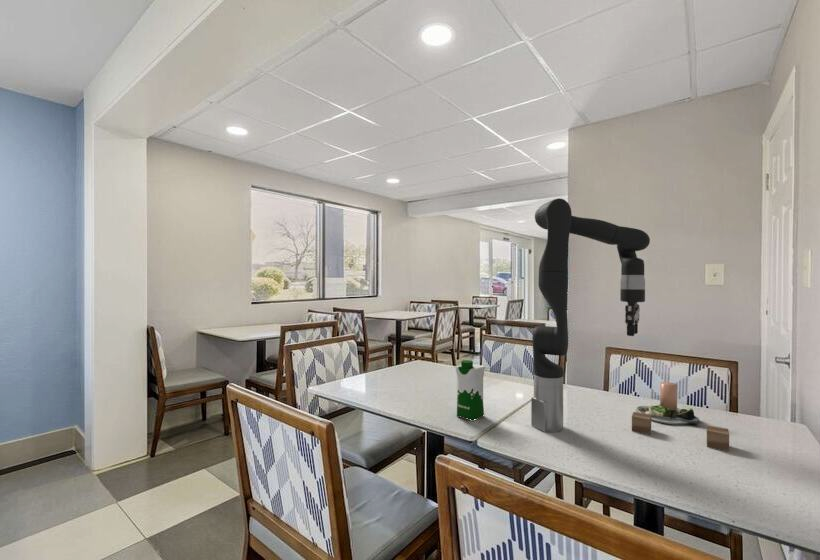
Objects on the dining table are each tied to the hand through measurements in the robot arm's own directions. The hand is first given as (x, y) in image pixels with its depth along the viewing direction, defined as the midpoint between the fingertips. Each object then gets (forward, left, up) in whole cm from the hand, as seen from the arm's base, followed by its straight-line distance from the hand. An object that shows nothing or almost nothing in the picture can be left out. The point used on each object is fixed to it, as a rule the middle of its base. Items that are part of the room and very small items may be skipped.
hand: (632, 334), depth 136 cm
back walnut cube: (-7, -8, -30) cm, 31 cm away
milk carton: (-50, +26, -30) cm, 64 cm away
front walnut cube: (+2, -25, -30) cm, 39 cm away
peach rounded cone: (+13, -4, -26) cm, 29 cm away
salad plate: (+13, -4, -30) cm, 33 cm away
